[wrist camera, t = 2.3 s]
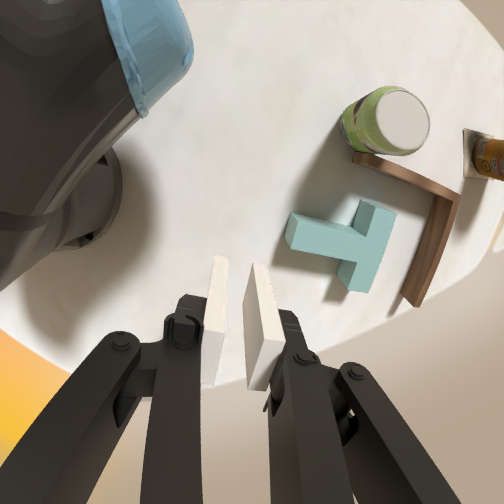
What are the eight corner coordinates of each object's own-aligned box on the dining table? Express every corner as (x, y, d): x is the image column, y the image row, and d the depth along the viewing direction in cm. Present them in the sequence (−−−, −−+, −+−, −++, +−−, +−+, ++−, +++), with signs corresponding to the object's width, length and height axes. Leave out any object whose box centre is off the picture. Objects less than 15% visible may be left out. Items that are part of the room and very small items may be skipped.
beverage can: (386, 150, 29) (452, 158, 18) (331, 156, 29) (383, 163, 18) (378, 100, 26) (441, 86, 15) (321, 102, 27) (369, 80, 15)
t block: (276, 264, 33) (281, 279, 29) (298, 182, 30) (307, 187, 26) (355, 278, 35) (368, 293, 31) (380, 205, 31) (396, 213, 28)
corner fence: (317, 279, 34) (326, 294, 30) (354, 152, 29) (369, 153, 25) (405, 293, 36) (419, 307, 32) (442, 189, 31) (461, 195, 27)
